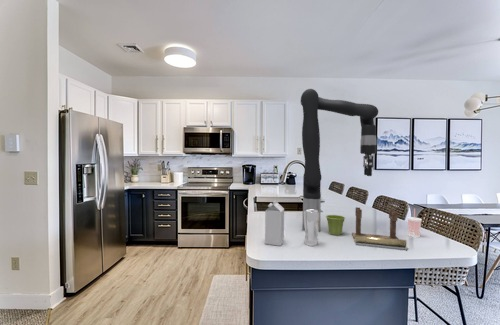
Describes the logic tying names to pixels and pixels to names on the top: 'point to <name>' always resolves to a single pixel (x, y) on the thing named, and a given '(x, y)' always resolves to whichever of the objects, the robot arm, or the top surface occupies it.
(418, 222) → the beverage cup
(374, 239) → the brass rail
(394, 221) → the hook stand
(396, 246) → the slate mat
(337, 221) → the plant pot
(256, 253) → the top surface
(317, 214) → the beer glass
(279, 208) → the milk carton
